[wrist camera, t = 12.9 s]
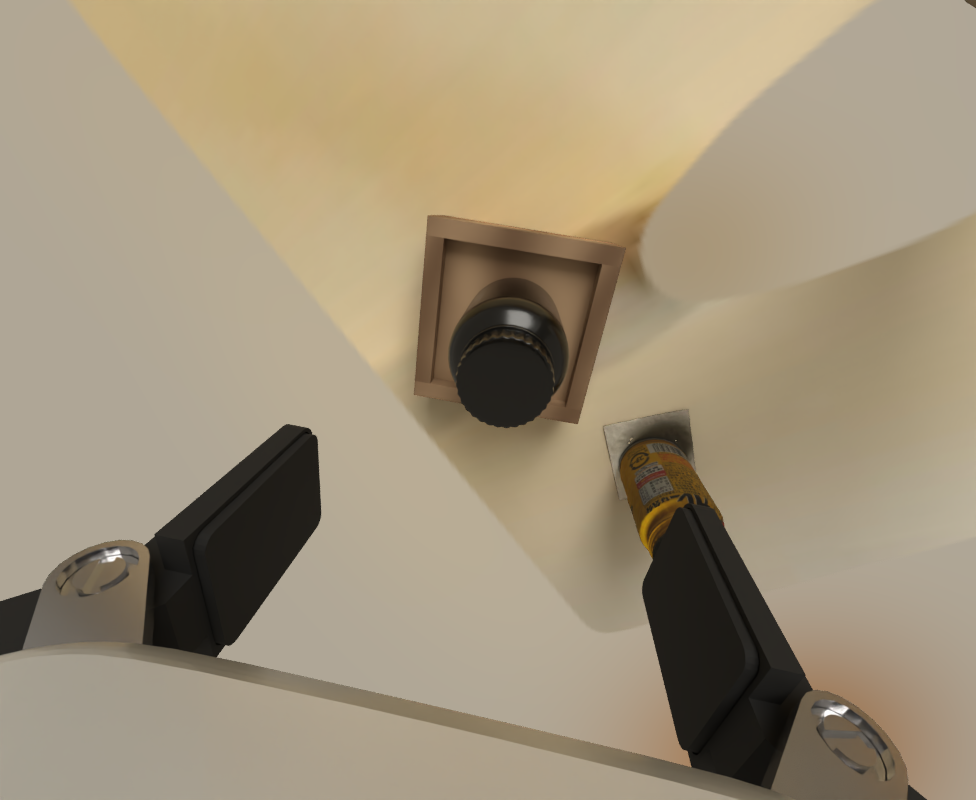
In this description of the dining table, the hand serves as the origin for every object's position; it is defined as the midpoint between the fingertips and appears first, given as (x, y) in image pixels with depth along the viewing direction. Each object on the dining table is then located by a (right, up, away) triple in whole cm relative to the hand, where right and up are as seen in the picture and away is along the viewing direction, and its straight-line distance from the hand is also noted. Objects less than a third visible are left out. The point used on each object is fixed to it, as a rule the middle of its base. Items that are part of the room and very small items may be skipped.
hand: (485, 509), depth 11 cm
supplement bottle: (+2, +9, +20) cm, 22 cm away
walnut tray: (+2, +10, +23) cm, 25 cm away
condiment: (+15, -2, +28) cm, 32 cm away
